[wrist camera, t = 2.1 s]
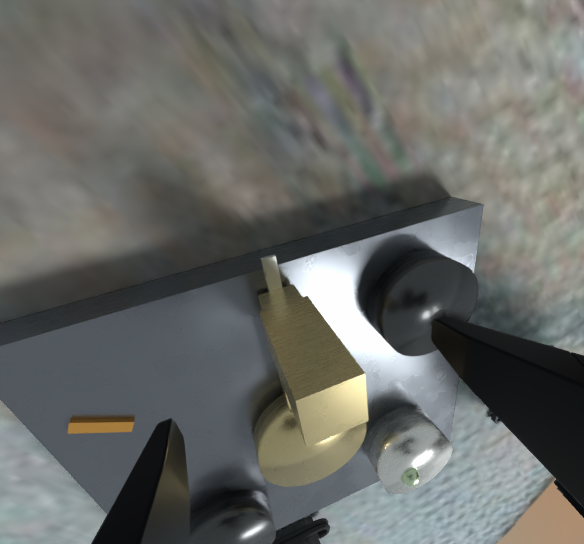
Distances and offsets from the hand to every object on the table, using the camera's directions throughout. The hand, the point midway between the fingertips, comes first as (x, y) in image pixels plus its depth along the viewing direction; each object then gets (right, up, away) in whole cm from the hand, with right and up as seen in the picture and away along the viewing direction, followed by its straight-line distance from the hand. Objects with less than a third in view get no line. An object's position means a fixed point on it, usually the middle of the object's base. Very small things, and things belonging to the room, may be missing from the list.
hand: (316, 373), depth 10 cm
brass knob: (-1, -3, +6) cm, 6 cm away
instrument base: (-1, -4, +9) cm, 10 cm away
